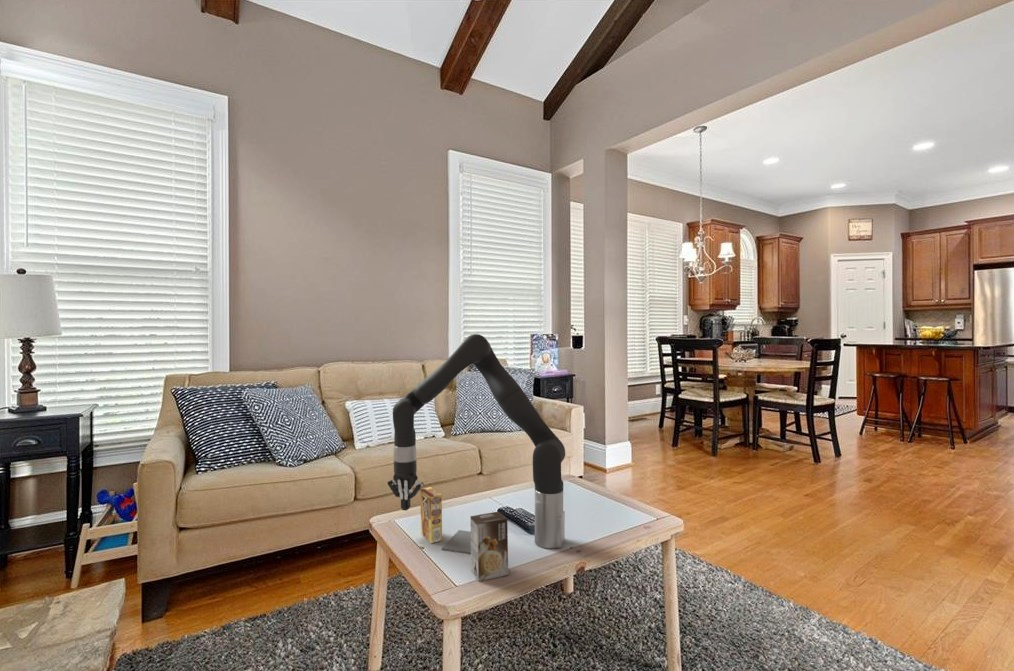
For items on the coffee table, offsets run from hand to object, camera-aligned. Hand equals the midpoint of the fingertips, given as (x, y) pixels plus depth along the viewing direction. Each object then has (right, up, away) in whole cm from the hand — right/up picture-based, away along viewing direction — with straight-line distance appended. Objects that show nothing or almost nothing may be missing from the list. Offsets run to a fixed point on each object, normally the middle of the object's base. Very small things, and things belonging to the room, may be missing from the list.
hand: (405, 509), depth 161 cm
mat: (+23, -8, -7) cm, 25 cm away
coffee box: (+29, -9, -26) cm, 40 cm away
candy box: (+9, -9, -3) cm, 13 cm away
